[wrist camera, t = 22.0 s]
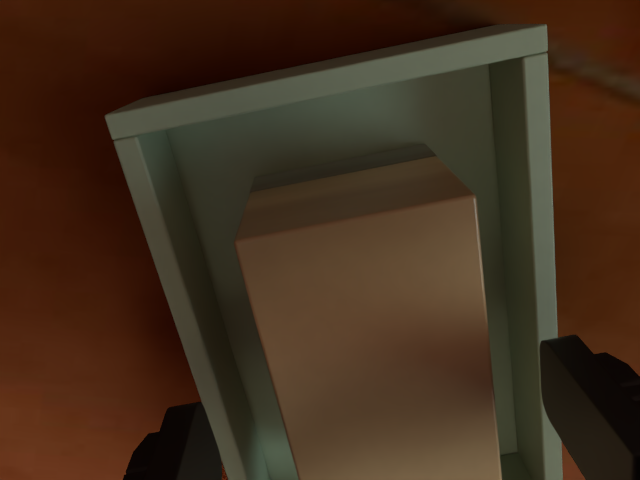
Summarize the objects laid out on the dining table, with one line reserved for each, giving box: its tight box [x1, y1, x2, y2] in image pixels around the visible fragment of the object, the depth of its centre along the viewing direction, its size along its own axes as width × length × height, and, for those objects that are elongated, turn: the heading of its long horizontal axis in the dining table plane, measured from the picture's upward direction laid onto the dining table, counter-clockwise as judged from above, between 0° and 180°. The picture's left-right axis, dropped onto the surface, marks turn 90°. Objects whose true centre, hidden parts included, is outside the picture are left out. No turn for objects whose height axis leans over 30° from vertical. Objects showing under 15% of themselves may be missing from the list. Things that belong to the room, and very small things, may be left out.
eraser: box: [234, 144, 502, 480], centre depth 15 cm, size 10×5×5 cm, turn 11°
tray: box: [105, 24, 563, 480], centre depth 16 cm, size 15×10×3 cm
